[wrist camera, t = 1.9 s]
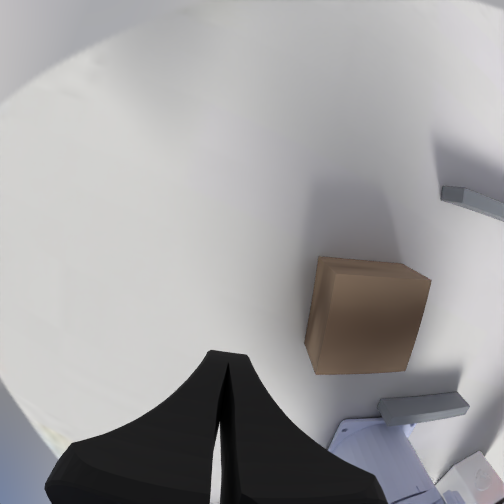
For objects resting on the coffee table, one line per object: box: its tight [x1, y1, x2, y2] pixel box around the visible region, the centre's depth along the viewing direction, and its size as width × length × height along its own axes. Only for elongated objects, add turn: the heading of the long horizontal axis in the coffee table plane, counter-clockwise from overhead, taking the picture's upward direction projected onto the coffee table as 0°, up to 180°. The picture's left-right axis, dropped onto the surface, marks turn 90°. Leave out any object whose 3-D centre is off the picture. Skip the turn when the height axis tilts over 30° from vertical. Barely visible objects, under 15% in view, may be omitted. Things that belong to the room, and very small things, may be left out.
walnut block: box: [304, 256, 432, 375], centre depth 18 cm, size 6×6×4 cm
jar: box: [435, 451, 504, 504], centre depth 20 cm, size 9×8×12 cm
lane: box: [377, 186, 504, 427], centre depth 19 cm, size 18×9×2 cm, turn 171°
